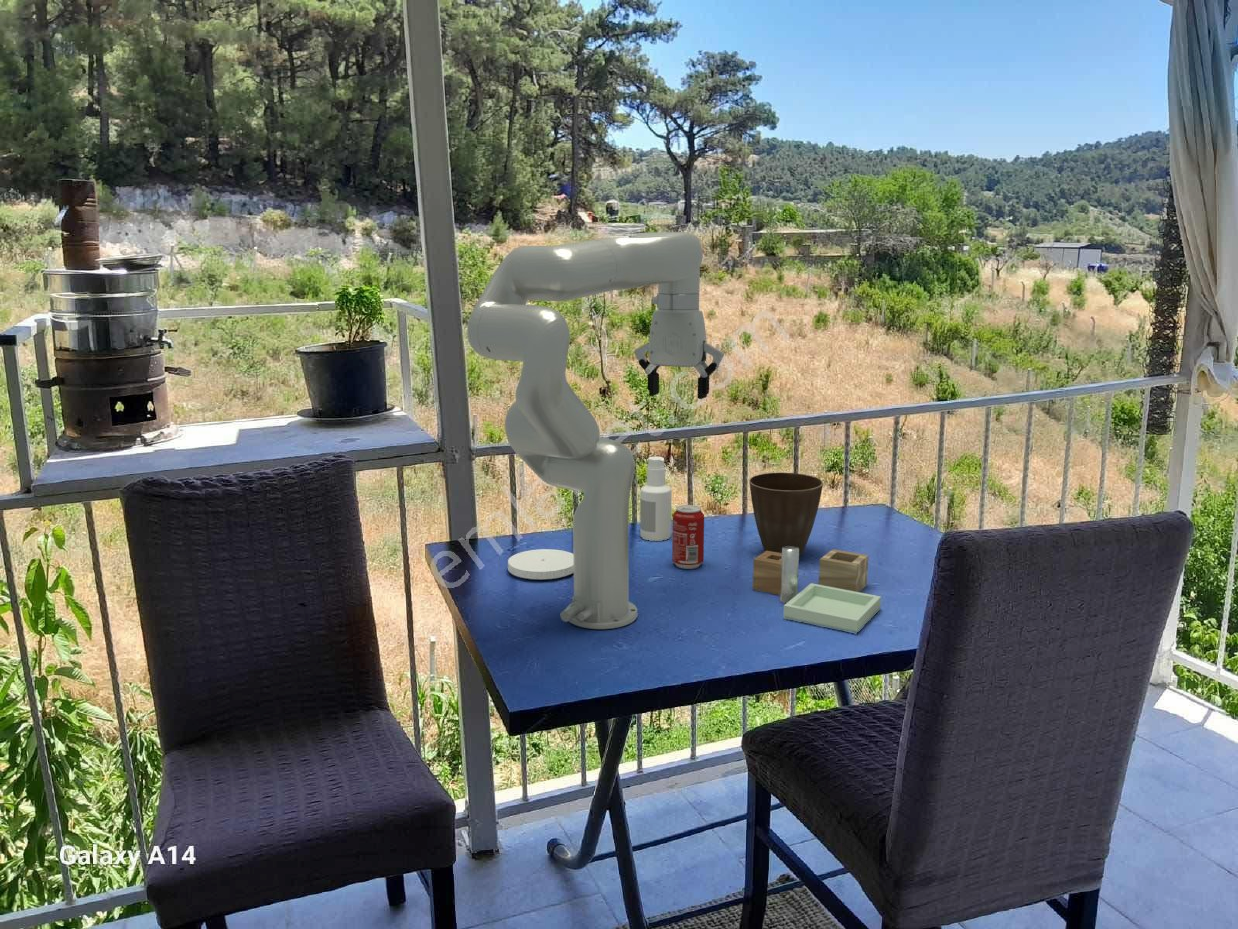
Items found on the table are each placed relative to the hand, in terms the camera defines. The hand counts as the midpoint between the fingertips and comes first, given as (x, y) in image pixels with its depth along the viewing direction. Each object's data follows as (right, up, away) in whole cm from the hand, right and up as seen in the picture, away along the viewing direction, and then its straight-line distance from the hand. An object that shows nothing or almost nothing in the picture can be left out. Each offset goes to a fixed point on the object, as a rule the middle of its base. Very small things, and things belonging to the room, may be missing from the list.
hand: (677, 396), depth 177 cm
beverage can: (+3, -33, +15) cm, 37 cm away
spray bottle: (-3, -29, +34) cm, 45 cm away
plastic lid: (-26, -34, +13) cm, 45 cm away
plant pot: (+23, -32, +21) cm, 45 cm away
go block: (+31, -36, +3) cm, 48 cm away
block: (+18, -36, +3) cm, 41 cm away
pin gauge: (+20, -38, -4) cm, 43 cm away
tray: (+26, -39, -10) cm, 48 cm away
